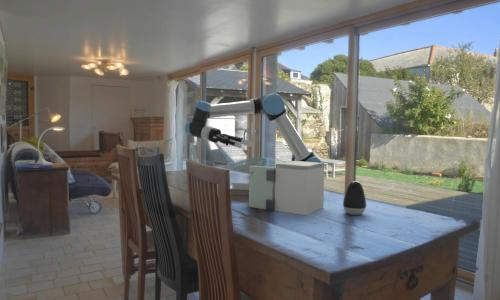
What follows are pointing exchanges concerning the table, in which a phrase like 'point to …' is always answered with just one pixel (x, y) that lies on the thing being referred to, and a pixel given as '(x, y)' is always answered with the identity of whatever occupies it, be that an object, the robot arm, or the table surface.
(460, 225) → the table surface
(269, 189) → the sage door
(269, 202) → the clip hinges
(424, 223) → the table surface
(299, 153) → the robot arm
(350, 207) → the black egg-shaped speaker
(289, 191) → the cabinet
